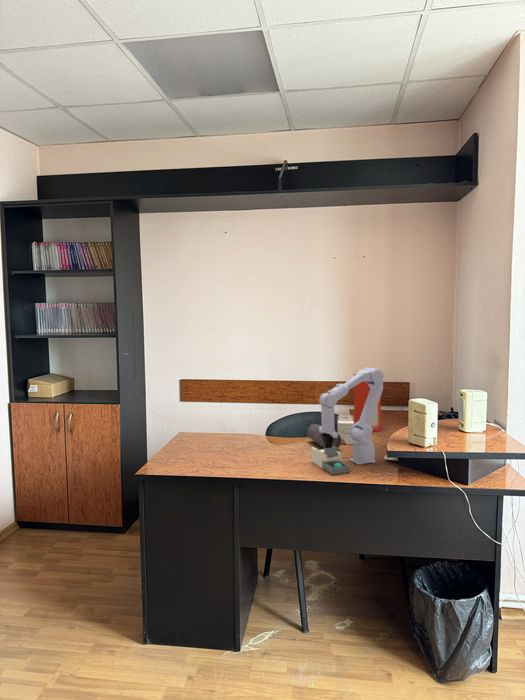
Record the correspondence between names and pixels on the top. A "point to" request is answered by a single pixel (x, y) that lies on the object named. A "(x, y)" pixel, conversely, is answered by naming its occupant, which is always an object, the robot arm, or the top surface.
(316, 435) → the bluetooth speaker
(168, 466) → the top surface
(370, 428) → the robot arm
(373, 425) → the tall red panel
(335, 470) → the grey open tray
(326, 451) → the grey rectangular block
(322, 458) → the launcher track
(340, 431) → the ink cartridge box
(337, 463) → the ball
